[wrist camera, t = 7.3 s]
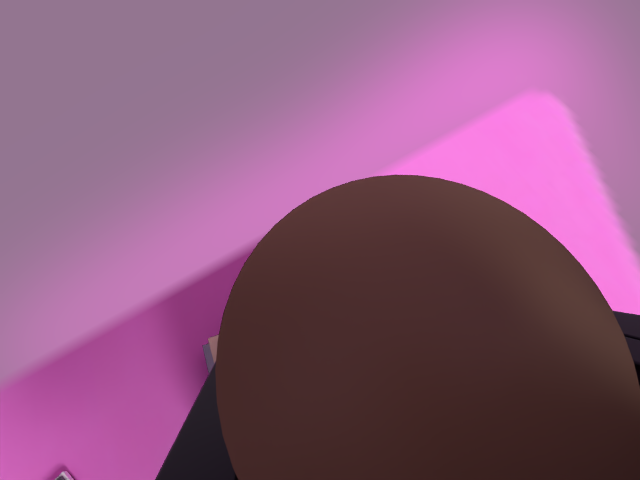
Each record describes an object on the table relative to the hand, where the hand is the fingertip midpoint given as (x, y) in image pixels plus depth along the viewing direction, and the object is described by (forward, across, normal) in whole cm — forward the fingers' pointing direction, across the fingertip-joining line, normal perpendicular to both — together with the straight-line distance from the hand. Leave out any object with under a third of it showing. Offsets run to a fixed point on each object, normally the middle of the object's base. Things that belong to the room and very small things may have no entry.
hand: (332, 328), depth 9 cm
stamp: (+4, 0, +6) cm, 7 cm away
